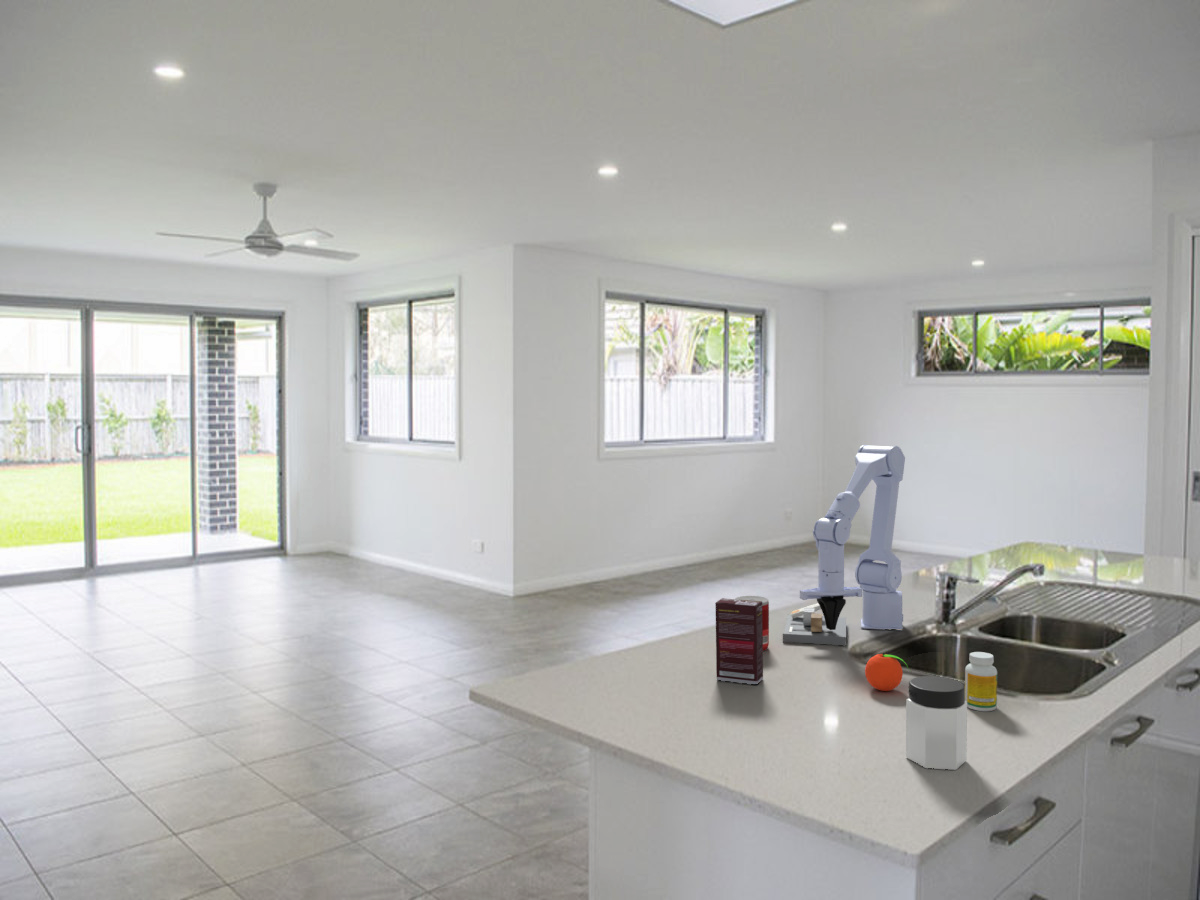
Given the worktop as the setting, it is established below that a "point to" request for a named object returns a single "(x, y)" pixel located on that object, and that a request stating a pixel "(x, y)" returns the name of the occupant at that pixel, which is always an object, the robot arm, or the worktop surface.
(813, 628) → the oak slider
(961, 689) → the jar
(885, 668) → the clementine
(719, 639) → the supplement box
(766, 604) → the canned food
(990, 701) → the supplement bottle
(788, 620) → the console
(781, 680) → the worktop surface
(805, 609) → the steel slider
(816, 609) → the block
